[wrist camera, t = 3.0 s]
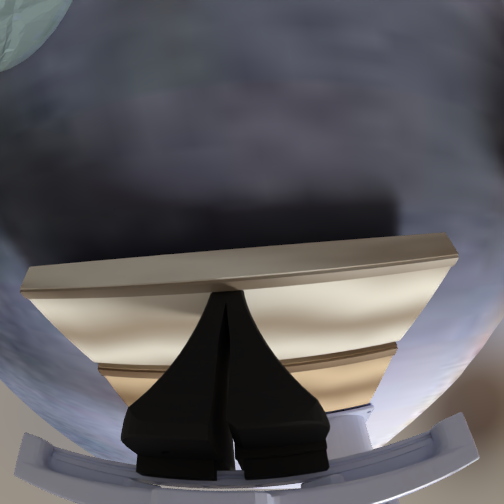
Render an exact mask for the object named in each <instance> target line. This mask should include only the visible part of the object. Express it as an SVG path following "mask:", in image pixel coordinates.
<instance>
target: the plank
mask: <svg viewBox="0 0 504 504" xmlns="http://www.w3.org/2000/svg"><path fill="white" fill-rule="evenodd" d="M458 258H459V257H458V252H457V251H456V249H455V247H454V246H453V244H452V242H451V241H450V239H449V238H448V236H447V234H446V233H445V232H444V233H431V234H417V235H404V236H391V237H378V238H365V239H352V240H339V241H326V242H314V243H301V244H289V245H276V246H264V247H252V248H240V249H228V250H216V251H204V252H192V253H180V254H168V255H156V256H145V257H133V258H122V259H110V260H99V261H88V262H77V263H65V264H54V265H43V266H32V267H29V269H28V271H27V274H26V276H25V278H24V280H23V283H22V285H21V287H20V289H21V291H20V293H21V294H22V295H23V296H24V297H25V298H26V299H29V300H30V301H31V302H32V303H33V304H34V305H35V306H36V307H37V308H38V309H39V310H40V312H41V313H42V314H43V315H44V316H45V317H46V318H47V319H48V320H49V321H50V322H51V323H52V324H53V325H54V326H55V327H56V328H57V329H58V330H59V331H60V332H61V333H62V334H63V335H64V336H65V337H66V338H67V339H69V340H70V341H71V342H72V343H73V344H74V345H75V346H76V347H77V348H78V349H79V350H81V351H82V352H83V353H84V354H85V355H86V356H87V357H89V358H90V359H91V360H92V361H93V362H98V363H112V364H132V365H171V364H172V363H173V362H174V360H175V359H176V358H177V356H178V355H179V353H180V352H181V351H182V349H183V348H184V346H185V345H186V343H187V341H188V340H189V338H190V336H191V334H192V333H193V331H194V329H195V327H196V326H197V324H198V322H199V320H200V318H201V316H202V314H203V311H204V309H205V307H206V304H207V302H208V299H209V297H210V294H211V293H212V292H223V291H236V290H243V291H244V295H245V299H246V302H247V305H248V308H249V310H250V313H251V315H252V317H253V319H254V321H255V323H256V325H257V327H258V329H259V331H260V333H261V334H262V336H263V338H264V339H265V341H266V343H267V344H268V346H269V347H270V349H271V350H272V351H273V353H274V354H275V356H276V357H277V358H278V359H279V360H282V359H291V358H300V357H308V356H315V355H322V354H329V353H336V352H342V351H348V350H354V349H360V348H365V347H370V346H375V345H380V344H385V343H390V342H395V341H399V340H400V339H401V338H402V337H403V336H404V334H405V333H406V332H407V330H408V329H409V328H410V326H411V325H412V324H413V322H414V321H415V320H416V318H417V317H418V316H419V314H420V313H421V312H422V310H423V309H424V307H425V306H426V304H427V303H428V302H429V300H430V299H431V297H432V296H433V294H434V293H435V291H436V290H437V288H438V287H439V285H440V283H441V282H442V280H443V279H444V277H445V276H446V274H447V272H448V271H449V269H450V267H451V266H454V265H455V263H456V262H457V260H458Z"/></svg>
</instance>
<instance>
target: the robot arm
mask: <svg viewBox="0 0 504 504" xmlns="http://www.w3.org/2000/svg"><path fill="white" fill-rule="evenodd" d="M373 410H374V406H373V405H369V406H365V407H361V408H356V409H352V410H347V411H342V412H336V413H331V414H326V413H325V411H324V409H323V407H322V406H321V404H320V402H319V401H318V399H317V398H315V397H314V396H313V395H312V394H311V393H310V392H308V391H307V390H306V389H305V388H304V387H303V386H302V385H301V384H300V383H299V382H298V381H297V380H296V379H295V378H294V377H293V376H292V375H291V374H290V372H289V371H288V370H287V369H286V368H285V367H284V366H283V364H282V363H281V362H280V361H279V359H278V358H277V357H276V356H275V354H274V353H273V351H272V350H271V349H270V347H269V346H268V344H267V343H266V341H265V339H264V338H263V336H262V334H261V333H260V331H259V329H258V327H257V325H256V323H255V321H254V319H253V317H252V315H251V313H250V310H249V308H248V305H247V302H246V299H245V295H244V291H243V290H236V291H223V292H212V293H211V294H210V297H209V299H208V302H207V304H206V307H205V309H204V311H203V314H202V316H201V318H200V320H199V322H198V324H197V326H196V327H195V329H194V331H193V333H192V334H191V336H190V338H189V340H188V341H187V343H186V345H185V346H184V348H183V349H182V351H181V352H180V353H179V355H178V356H177V358H176V359H175V360H174V362H173V363H172V364H171V365H170V367H169V368H168V369H167V370H166V372H165V373H164V374H163V375H162V376H161V377H160V378H159V379H158V380H157V381H156V382H155V383H154V384H153V385H152V387H151V388H150V389H149V390H148V391H146V392H145V393H144V394H143V395H142V396H141V397H140V398H139V399H137V400H136V401H135V402H134V403H133V404H132V405H130V406H129V407H128V409H127V412H126V415H125V418H124V422H123V427H122V433H121V441H122V442H123V443H124V444H125V445H126V446H127V447H128V448H129V449H131V450H132V451H133V452H135V453H136V454H137V464H136V465H133V464H126V463H120V462H115V461H109V460H104V459H100V458H95V457H90V456H86V455H82V454H79V453H75V452H71V451H68V450H64V449H61V448H57V447H54V446H53V445H52V444H50V443H49V442H48V441H46V440H44V439H42V438H40V437H37V436H34V435H31V434H28V433H24V436H23V439H22V443H21V447H20V451H19V455H18V459H17V463H16V468H15V472H14V475H15V476H16V477H18V478H20V479H22V480H24V481H26V482H28V483H30V484H32V485H34V486H36V487H38V488H40V489H42V490H45V491H47V492H49V493H52V494H54V495H56V496H59V497H62V498H64V499H67V500H70V501H73V502H75V503H78V504H399V500H398V498H400V497H403V496H405V495H408V494H411V493H413V492H415V491H418V490H420V489H422V488H425V487H427V486H429V485H431V484H434V483H436V482H438V481H440V480H442V479H444V478H446V477H448V476H450V475H452V474H454V473H456V472H457V471H459V470H461V469H463V468H465V467H466V466H468V465H470V464H471V463H473V462H475V461H476V460H478V459H479V454H478V451H477V448H476V446H475V443H474V440H473V437H472V435H471V433H470V430H469V427H468V425H467V422H466V420H465V418H464V415H463V413H462V412H459V413H457V414H455V415H453V416H451V417H448V418H446V419H444V420H442V421H440V422H438V423H437V424H435V425H434V426H433V427H432V428H431V430H429V431H427V432H424V433H421V434H419V435H416V436H413V437H411V438H408V439H405V440H402V441H399V442H396V443H393V444H390V445H387V446H383V447H380V448H376V449H373V448H372V445H371V441H370V437H369V434H368V430H367V427H366V421H367V420H368V418H369V416H370V415H371V413H372V411H373ZM233 440H234V442H235V459H236V460H237V461H238V463H239V465H240V467H241V469H242V470H235V460H234V449H233ZM302 482H304V483H302ZM295 483H302V484H301V488H300V489H288V490H273V491H200V490H182V489H169V488H161V487H160V486H158V485H165V486H176V487H189V488H254V487H268V486H278V485H287V484H295ZM153 484H156V485H153Z"/></svg>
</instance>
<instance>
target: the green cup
mask: <svg viewBox="0 0 504 504" xmlns="http://www.w3.org/2000/svg"><path fill="white" fill-rule="evenodd" d="M72 1H73V0H0V72H1V71H4V70H7V69H10V68H12V67H14V66H16V65H18V64H19V63H21V62H23V61H24V60H26V59H27V58H28V57H30V56H31V55H32V54H33V53H34V52H35V51H36V50H37V49H39V48H40V47H41V46H42V45H43V44H44V42H45V41H46V40H47V39H48V38H49V37H50V35H51V34H52V33H53V32H54V30H55V29H56V28H57V26H58V25H59V23H60V22H61V20H62V19H63V17H64V16H65V14H66V12H67V10H68V9H69V7H70V5H71V3H72Z"/></svg>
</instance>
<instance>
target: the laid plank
mask: <svg viewBox="0 0 504 504" xmlns="http://www.w3.org/2000/svg"><path fill="white" fill-rule="evenodd" d="M397 349H398V348H397V344H396V342H390V343H385V344H380V345H375V346H370V347H365V348H360V349H354V350H348V351H342V352H336V353H329V354H322V355H315V356H308V357H300V358H291V359H282V360H279V361H280V362H281V363H282V364H283V366H284V367H285V368H286V369H287V370H288V371H289V372H290V374H291V375H292V376H293V377H294V378H295V379H296V380H297V381H298V382H299V383H300V384H301V385H302V386H303V387H304V388H305V389H306V390H307V391H308V392H310V393H311V394H312V395H313V396H314V397H315V398H317V399H318V401H319V402H320V404H321V406H322V407H323V409H324V411H325V412H329V411H334V410H340V409H345V408H350V407H354V406H359V405H363V404H368V403H369V402H370V400H371V398H372V396H373V395H374V393H375V391H376V389H377V387H378V385H379V383H380V381H381V379H382V377H383V375H384V373H385V371H386V369H387V367H388V364H389V362H390V360H391V358H392V356H393V355H395V353H396V351H397ZM169 367H170V365H132V364H112V363H99V365H98V371H99V372H100V373H101V375H102V376H105V377H106V379H107V380H108V381H109V383H110V384H111V385H112V387H113V388H114V389H115V391H116V392H117V393H118V394H119V396H120V397H121V398H122V400H123V401H124V402H125V403H126V404H127V406H128V407H129V406H130V405H132V404H133V403H134V402H135V401H136V400H137V399H139V398H140V397H141V396H142V395H143V394H144V393H145V392H146V391H148V390H149V389H150V388H151V387H152V385H153V384H154V383H155V382H156V381H157V380H158V379H159V378H160V377H161V376H162V375H163V374H164V373H165V372H166V370H167V369H168V368H169Z"/></svg>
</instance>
